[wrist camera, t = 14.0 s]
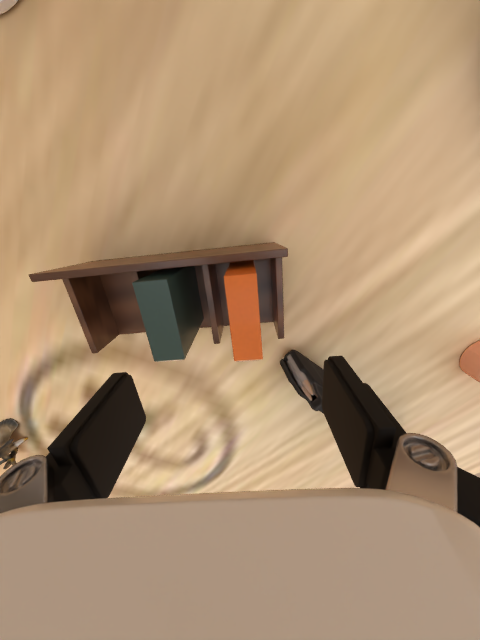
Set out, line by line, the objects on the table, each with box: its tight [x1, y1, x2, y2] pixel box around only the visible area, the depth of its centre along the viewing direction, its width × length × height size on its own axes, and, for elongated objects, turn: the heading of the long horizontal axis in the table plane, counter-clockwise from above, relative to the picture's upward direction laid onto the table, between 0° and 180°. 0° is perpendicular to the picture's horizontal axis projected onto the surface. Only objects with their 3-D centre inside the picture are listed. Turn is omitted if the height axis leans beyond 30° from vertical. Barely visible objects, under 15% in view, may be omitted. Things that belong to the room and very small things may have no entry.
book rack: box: [29, 242, 288, 353], centre depth 30 cm, size 12×27×11 cm, turn 96°
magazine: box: [280, 350, 324, 414], centre depth 37 cm, size 17×3×30 cm
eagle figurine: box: [0, 418, 28, 469], centre depth 45 cm, size 8×7×9 cm
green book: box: [132, 266, 204, 362], centre depth 29 cm, size 9×4×12 cm, turn 6°
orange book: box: [224, 260, 263, 362], centre depth 28 cm, size 9×3×13 cm, turn 6°
